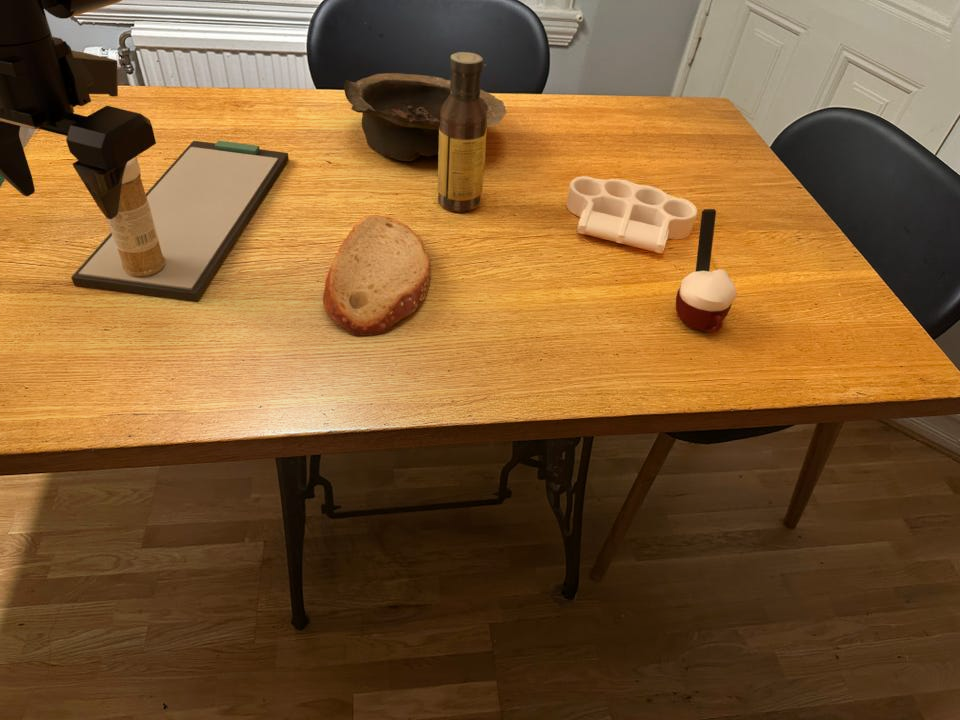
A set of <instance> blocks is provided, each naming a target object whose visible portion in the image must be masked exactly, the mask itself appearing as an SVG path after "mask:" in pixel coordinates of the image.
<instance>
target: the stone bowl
mask: <svg viewBox="0 0 960 720" xmlns="http://www.w3.org/2000/svg"><path fill="white" fill-rule="evenodd" d="M450 86H451V79H450V80H449V79H445V78H444V77H437V76H434V75H424V74H423V75H422V74H411V73H408V74H407V73H402V72H401V73H400V72H389V73H388V72H387V73H386V72H385V73H375V74H373V75H370V76H368V77H364V78H361V79H359V80H356V81H355V82H354V81H350V80H348V79H347V78H346V79H345V80H344V85H343V90H344V96H345V98H346V100H347V101H348V103H349V104H350V105H351V108H350V110H351V111H354V112H356V113H359V114H360V113H361V115H362V117H361V129H362V131H363V133H364V136H365V139H366V144H367V146H368V147H369V148H370V149H372V150H373V151H376V152H377V154H380V155H381V156H383V157H384V158H387V159H388V158H393V159H394V160H396V161H397V160H398V161H401V162H406V161H407V162H409V161H414V160H416V159H418V158H419V157H420V155H421V156H425V157H432V156H435V155H438V154H439V127H440V112H441V108H442V106H443V104H444V103H445V101H446V100H447V98H448V97H449V95H450ZM479 97H480V99H481V101H482V102H483V104H484V106H485V109H486V112H487V128H489V127H496V126H498V125H499V124H500V123H501V121H503V119H504V116H505V115H506V114H507V113H508V112H507V111H508V110H507V109H506V105H504V104H505V103H504V101H503V100H501V99H499V98H497V97H496V96H495V95H493V94H491V93H489V92H487V91H485V90H483V89H480V96H479Z"/></svg>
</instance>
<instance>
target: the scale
mask: <svg viewBox="0 0 960 720" xmlns="http://www.w3.org/2000/svg"><path fill="white" fill-rule="evenodd" d="M288 162H289V153H288V152H285V151H277V150H269V149H260V145H257V144H249V143H241V142H233V141H225V140H217V141H216V142H207V141H201V140H200V141H199V140H192V142H191V143H189V145H188V146H187V147H186V148H185V149H184V150H183V152H182V153H180V155H179V156H178V157H177V158H176V159H175V160H174V161H173V163H172V164H171V165H169V167H168V168H167V169H166V171H165V172H164V173H163V174H162V175H161V176H160V177H159V179H158V180H157V181H156V182H155V183H154V184H153V185H152V186H151V187H150V188H149V189H148V190H147V192H145V194H146V197H147V200H148V203H149V207H150V210H151V214H152V218H153V221H154V225H155V229H156V232H157V236H158V241H159V244H160V248H161V252H162V255H163V256H164V258H165V265H164V267H163V268H162V269H161V270H159V271H158V272H156V273H154V274H152V275H149V276H132V275H129V274H128V273H126V272H125V271H124V270H123V268H122V261H121V258H120V255H119V252H118V249H117V247H116V245H115V242H114V239H113V236H112V233H111V232H110V233H109V234H108V235H107V236H106V238H104V240H103V241H102V242H101V243H100V244H99V245H98V246H97V247H96V249H95V250H94V251H92V253H91V255H89V256H88V257H87V259H86V260H85V261H84V262H83V263H82V265H80V267H79V268H78V269H77V270H76V271H75V272H74V274H72V275H71V281H72V284H73V286H75V287H82V288H89V289H96V290H97V289H98V290H104V291H112V292H119V293H121V292H122V293H126V294H136V295H141V296H149V297H150V296H151V297H158V298H164V299H165V298H166V299H171V300H172V299H174V300H180V301H186V302H187V301H188V302H195V303H198V302H200V300H201V299H202V297H203V295H204V294H205V292H206V290H207V288H209V286H210V284H211V283H212V281H213V279H215V276H216V275H217V274H218V272H219V270H220V269H221V267H222V265H223V264H224V262H225V261H226V259H227V258H228V257H229V255H230V253H231V252H232V250H233V248H235V245H236V244H237V242H238V240H239V239H240V237H241V236H242V234H243V233H244V231H245V230H246V228H247V227H248V225H249V223H250V222H251V220H252V219H253V217H254V216H255V214H256V213H257V211H258V209H259V208H260V206H261V204H262V203H263V202H264V200H265V198H266V196H267V195H268V193H269V192H270V190H271V189H272V187H273V185H274V184H275V183H276V181H277V179H278V178H279V177H280V175H281V174H282V172H283V170H284V169H285V167H286V165H288Z"/></svg>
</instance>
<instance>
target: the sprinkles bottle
mask: <svg viewBox="0 0 960 720" xmlns="http://www.w3.org/2000/svg"><path fill="white" fill-rule="evenodd" d="M141 171H142V170H141V166H140V163H139V160H138V156H136V157H135V158H133V159H131V160H130V161H128V162H127V164H126V167H125V171H124V175H123V180H122V187H121V194H120V202H119V209H118V214H117V216H115V217H114V218H113V219H107V218H106V221H107V224H108V226H109V230H110V233H112V236H113V239H114V242H115V245H116V247H117V249H118V252H119V255H120V258H121V261H122V268H123V270H124V271H125V272H126V273H128V274H129V275H132V276H149V275H152V274H154V273H156V272H158V271H159V270H161V269H162V268H163V267H164V265H165V258H164V256H163V255H162V252H161V248H160V244H159V241H158V236H157V232H156V229H155V225H154V221H153V218H152V214H151V210H150V207H149V203H148V200H147V197H146V190H145V188H144V184H143V181H142V177H141V175H142V174H141Z"/></svg>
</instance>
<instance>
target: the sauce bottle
mask: <svg viewBox="0 0 960 720" xmlns="http://www.w3.org/2000/svg"><path fill="white" fill-rule="evenodd" d="M449 68H450V80H451V86H450V95H449V97H448V98H447V100H446V101H445V103H444V104H443V106H442V108H441V112H440V127H439V154H437V155H438V158H437V159H438V160H437V193H438V196H437V202H438V204H439V205H440V206H441V207H442V208H444V209H445V210H447V211H450V212H455V213H456V212H457V213H464V212H469V211H472V210H474V209H477V208H478V207H479V206H480V204H481V197H482V193H483V187H484V175H485V164H486V163H485V162H486V149H487V134H488V127H487V112H486V109H485V106H484V104H483V102H482V101H481V99H480V97H479V96H480V90H481V76H482V72H483V69H484V59H483V57H482V55H479V54H478V53H475V52H469V51H467V52H466V51H458V52H455V53H453V54H451V55H450V58H449Z"/></svg>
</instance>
